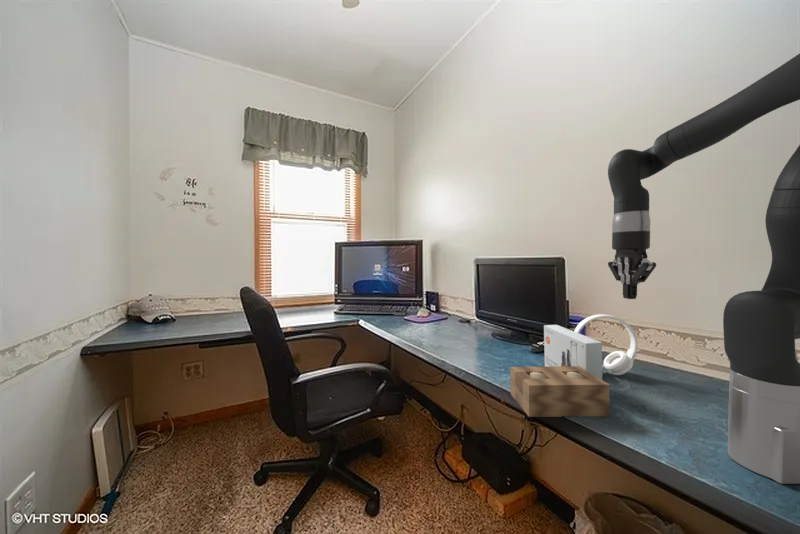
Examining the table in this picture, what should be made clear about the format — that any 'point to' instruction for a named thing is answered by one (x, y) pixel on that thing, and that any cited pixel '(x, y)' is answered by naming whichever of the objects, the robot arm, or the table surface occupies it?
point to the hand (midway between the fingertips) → (629, 298)
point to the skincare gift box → (572, 350)
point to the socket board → (559, 392)
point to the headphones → (618, 359)
